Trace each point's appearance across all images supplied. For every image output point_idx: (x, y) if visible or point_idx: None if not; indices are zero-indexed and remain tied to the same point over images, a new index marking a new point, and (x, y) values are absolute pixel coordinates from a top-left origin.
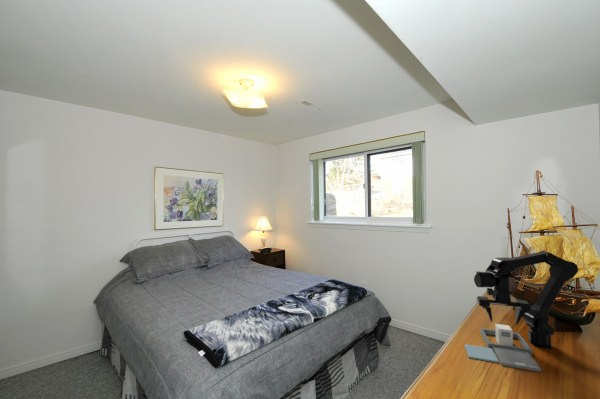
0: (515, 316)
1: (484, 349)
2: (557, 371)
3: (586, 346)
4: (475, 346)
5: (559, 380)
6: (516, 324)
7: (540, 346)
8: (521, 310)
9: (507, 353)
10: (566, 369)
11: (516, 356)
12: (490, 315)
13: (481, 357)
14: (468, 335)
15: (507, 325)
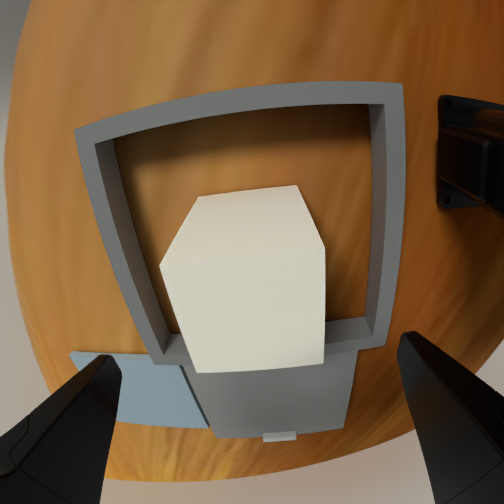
0: (453, 399)
1: (148, 376)
2: (402, 389)
3: None
4: None
5: (374, 424)
6: (397, 358)
7: (466, 206)
8: None
9: (247, 389)
10: None
11: (283, 396)
12: (94, 464)
13: (152, 422)
14: (46, 220)
15: (308, 257)
